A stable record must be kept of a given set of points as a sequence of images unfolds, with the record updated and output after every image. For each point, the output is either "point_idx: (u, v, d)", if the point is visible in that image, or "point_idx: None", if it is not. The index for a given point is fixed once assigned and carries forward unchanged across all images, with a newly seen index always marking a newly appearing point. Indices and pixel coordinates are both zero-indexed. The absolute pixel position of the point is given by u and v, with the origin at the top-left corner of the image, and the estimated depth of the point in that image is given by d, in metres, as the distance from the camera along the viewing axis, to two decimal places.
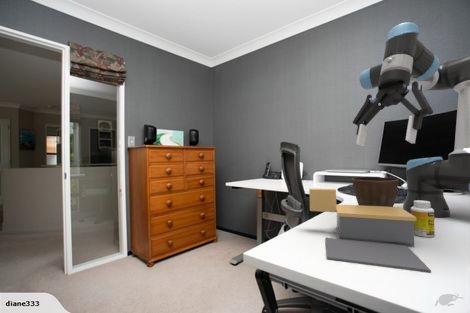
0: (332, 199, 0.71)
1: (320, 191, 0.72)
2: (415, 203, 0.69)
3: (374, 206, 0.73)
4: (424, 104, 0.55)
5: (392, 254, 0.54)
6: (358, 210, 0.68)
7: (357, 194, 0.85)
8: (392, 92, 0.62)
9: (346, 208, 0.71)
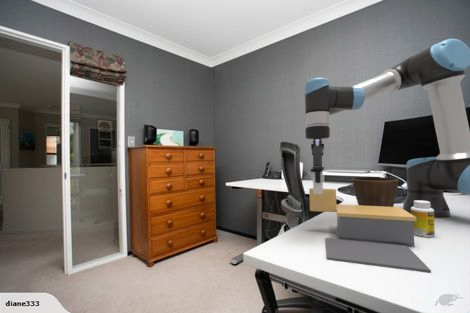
0: (332, 199, 0.71)
1: None
2: (415, 203, 0.69)
3: (374, 206, 0.73)
4: (313, 163, 0.66)
5: (392, 254, 0.54)
6: (358, 210, 0.68)
7: (357, 194, 0.85)
8: (311, 147, 0.73)
9: (346, 208, 0.71)
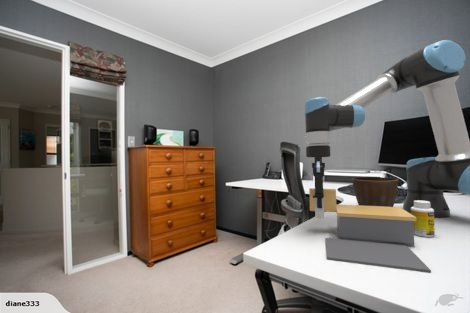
0: (332, 199, 0.71)
1: None
2: (415, 203, 0.69)
3: (374, 206, 0.73)
4: None
5: (392, 254, 0.54)
6: (358, 210, 0.68)
7: (357, 194, 0.85)
8: (312, 166, 0.74)
9: (346, 208, 0.71)
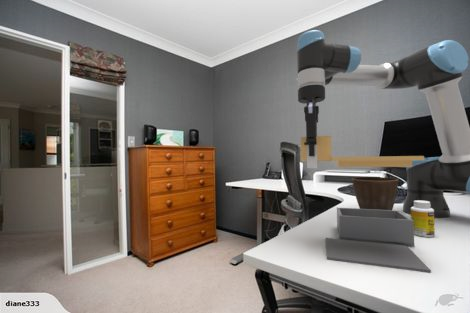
0: (326, 146, 0.62)
1: None
2: (415, 203, 0.69)
3: None
4: None
5: (392, 254, 0.54)
6: None
7: (357, 194, 0.85)
8: (304, 110, 0.65)
9: None
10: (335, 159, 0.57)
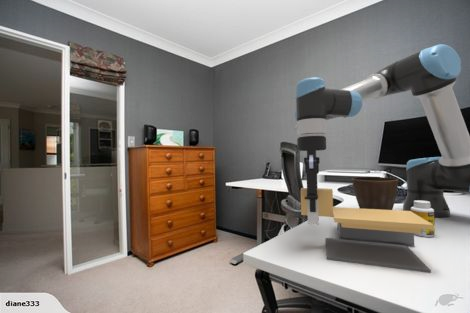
0: (328, 200, 0.58)
1: None
2: (415, 203, 0.69)
3: (379, 209, 0.61)
4: None
5: (392, 254, 0.54)
6: (359, 215, 0.56)
7: (357, 194, 0.85)
8: (304, 161, 0.61)
9: (345, 212, 0.59)
10: (338, 220, 0.53)
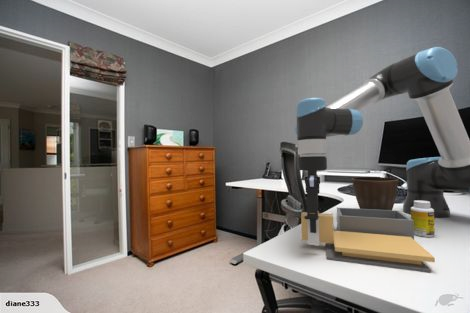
0: (329, 227, 0.58)
1: None
2: (415, 203, 0.69)
3: (379, 235, 0.61)
4: None
5: None
6: (360, 242, 0.56)
7: (357, 194, 0.85)
8: None
9: (345, 238, 0.59)
10: (339, 249, 0.53)
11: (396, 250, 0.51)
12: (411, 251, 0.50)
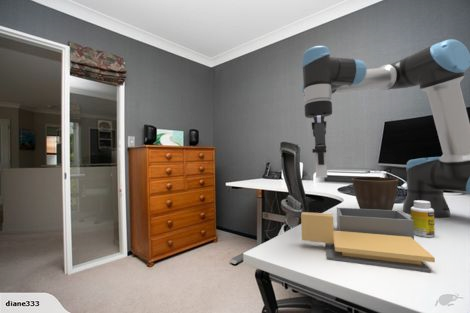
0: (329, 227, 0.58)
1: (314, 217, 0.60)
2: (415, 203, 0.69)
3: (379, 235, 0.61)
4: (315, 143, 0.57)
5: None
6: (360, 242, 0.56)
7: (357, 194, 0.85)
8: None
9: (345, 238, 0.59)
10: (339, 249, 0.53)
11: (396, 250, 0.51)
12: (411, 251, 0.50)
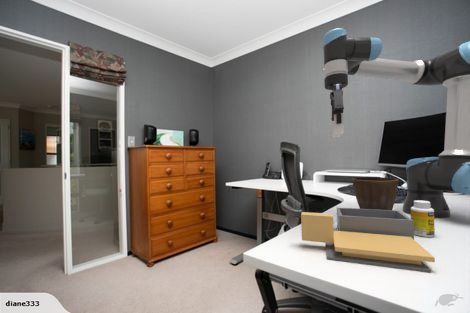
0: (329, 227, 0.58)
1: (314, 217, 0.60)
2: (415, 203, 0.69)
3: (379, 235, 0.61)
4: (334, 105, 0.70)
5: None
6: (360, 242, 0.56)
7: (357, 194, 0.85)
8: (330, 95, 0.78)
9: (345, 238, 0.59)
10: (339, 249, 0.53)
11: (396, 250, 0.51)
12: (411, 251, 0.50)
